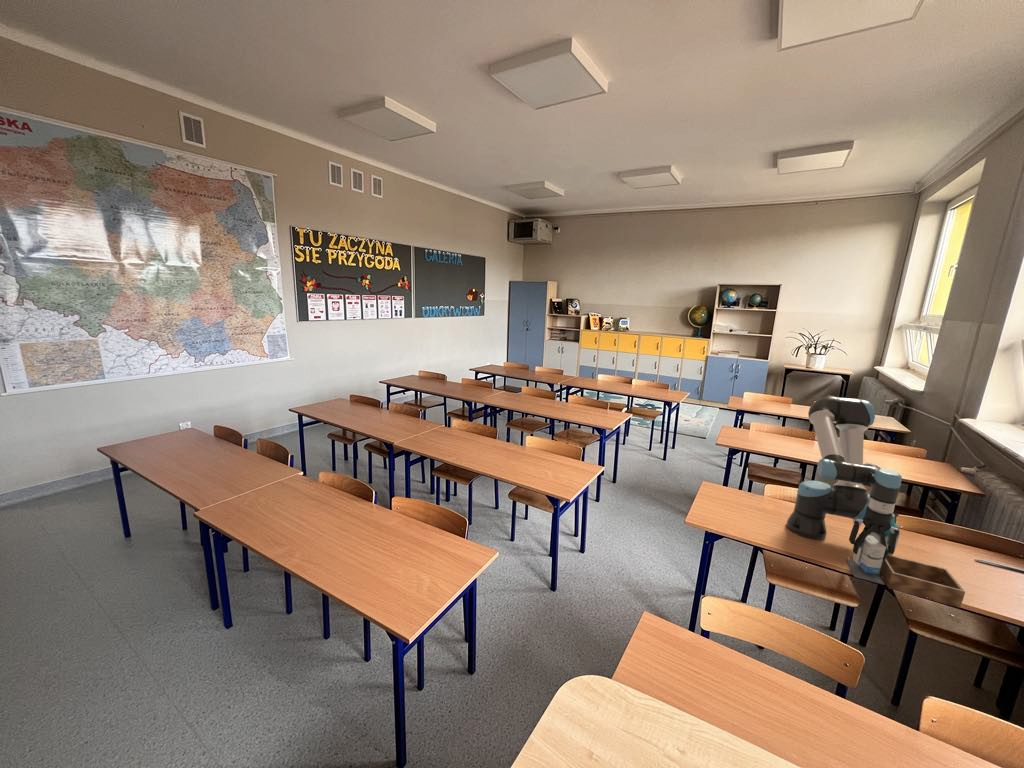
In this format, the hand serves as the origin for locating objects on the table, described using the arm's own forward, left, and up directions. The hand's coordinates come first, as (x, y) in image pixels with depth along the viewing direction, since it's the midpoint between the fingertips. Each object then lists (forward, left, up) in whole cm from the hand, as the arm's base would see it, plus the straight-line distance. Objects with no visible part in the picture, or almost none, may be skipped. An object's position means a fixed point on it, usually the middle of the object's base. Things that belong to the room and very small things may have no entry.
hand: (866, 563), depth 164 cm
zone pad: (0, 0, -4) cm, 4 cm away
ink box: (0, 0, -2) cm, 2 cm away
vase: (+8, +18, -4) cm, 20 cm away
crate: (+15, -1, -4) cm, 16 cm away
